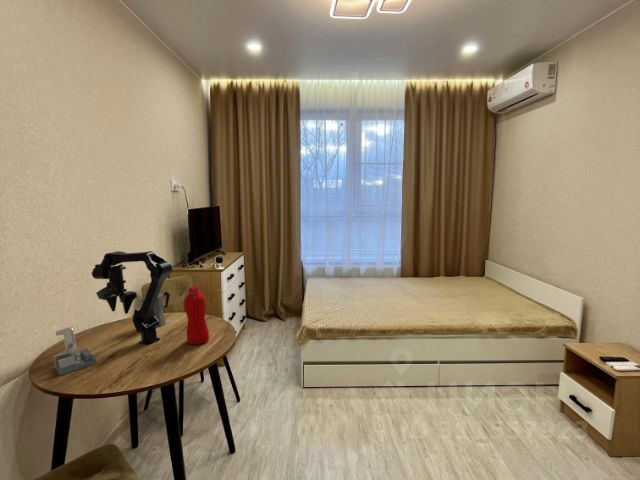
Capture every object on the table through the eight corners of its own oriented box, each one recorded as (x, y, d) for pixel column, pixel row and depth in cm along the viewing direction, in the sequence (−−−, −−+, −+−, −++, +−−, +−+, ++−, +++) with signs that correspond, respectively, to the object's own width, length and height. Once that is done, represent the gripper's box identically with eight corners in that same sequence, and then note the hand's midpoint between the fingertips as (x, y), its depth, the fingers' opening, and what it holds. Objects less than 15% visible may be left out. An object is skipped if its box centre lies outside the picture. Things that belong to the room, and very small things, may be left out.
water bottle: (188, 348, 148) (182, 291, 145) (187, 339, 158) (182, 286, 155) (210, 344, 152) (205, 288, 149) (208, 335, 162) (203, 283, 159)
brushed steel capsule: (77, 353, 148) (73, 326, 146) (77, 356, 145) (73, 329, 143) (60, 357, 145) (56, 330, 143) (59, 360, 142) (55, 332, 140)
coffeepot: (149, 330, 171) (145, 295, 168) (138, 327, 176) (135, 292, 173) (177, 320, 183) (174, 287, 181) (166, 317, 188) (163, 285, 186)
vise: (89, 356, 145) (88, 344, 144) (96, 363, 138) (95, 351, 137) (54, 367, 136) (52, 355, 136) (59, 375, 129) (57, 363, 129)
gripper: (85, 282, 154) (89, 315, 156) (111, 285, 146) (116, 321, 148) (109, 276, 164) (113, 308, 166) (135, 279, 156) (139, 312, 158)
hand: (120, 312), depth 159 cm, fingers open, 9 cm apart
